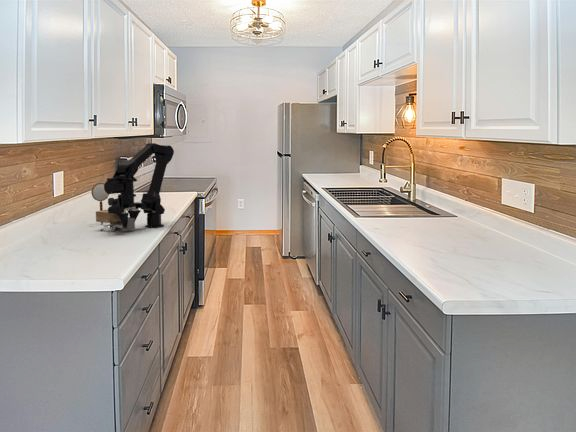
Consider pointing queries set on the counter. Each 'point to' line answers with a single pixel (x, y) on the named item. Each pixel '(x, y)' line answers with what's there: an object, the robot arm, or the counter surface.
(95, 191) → the magnifying glass
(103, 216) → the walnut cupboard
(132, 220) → the spatula tool
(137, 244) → the counter surface
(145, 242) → the counter surface
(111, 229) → the steel puck
